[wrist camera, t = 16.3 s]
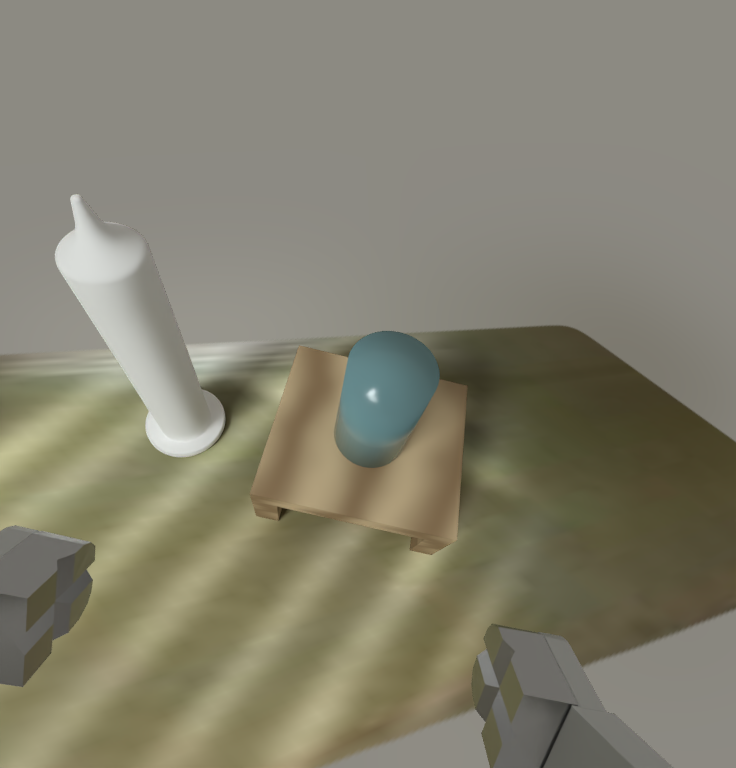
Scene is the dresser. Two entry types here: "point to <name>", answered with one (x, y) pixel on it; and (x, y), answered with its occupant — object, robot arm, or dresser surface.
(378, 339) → the teal domed cylinder
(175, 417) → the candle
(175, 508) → the dresser surface
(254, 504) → the small wooden stool
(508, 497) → the dresser surface
